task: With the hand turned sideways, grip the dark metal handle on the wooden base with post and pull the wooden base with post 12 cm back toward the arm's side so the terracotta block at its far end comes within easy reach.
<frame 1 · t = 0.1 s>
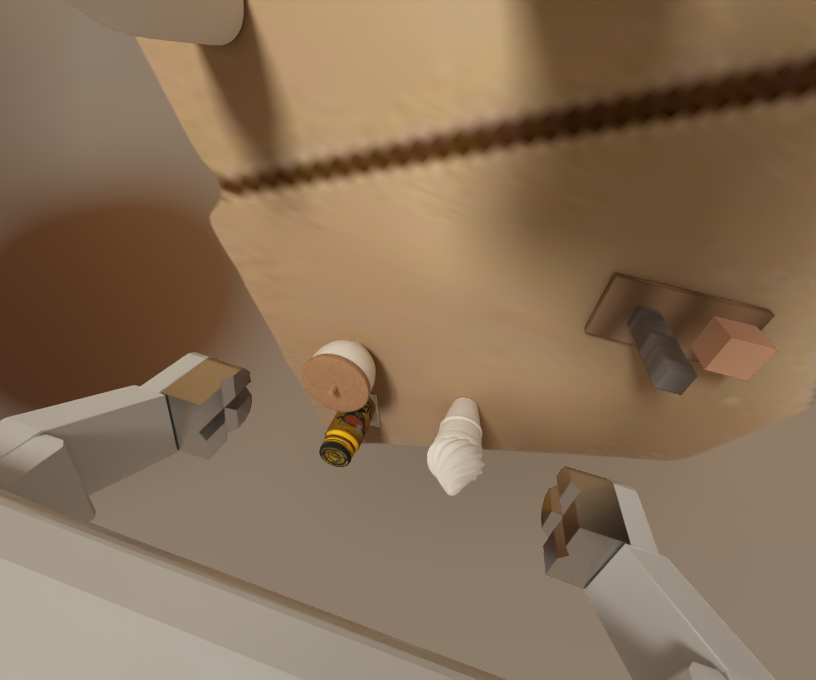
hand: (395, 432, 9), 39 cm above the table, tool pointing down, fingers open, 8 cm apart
wooden base with post: (689, 351, 40), point 7 cm above the table, slide at 0.0 cm, touching terracotta block
lidded jar: (353, 354, 62), on the table
condiment: (360, 406, 69), on the table
terracotta block: (721, 336, 43), point 1 cm above the table, touching wooden base with post
soft serve ice cream cone: (465, 405, 62), on the table
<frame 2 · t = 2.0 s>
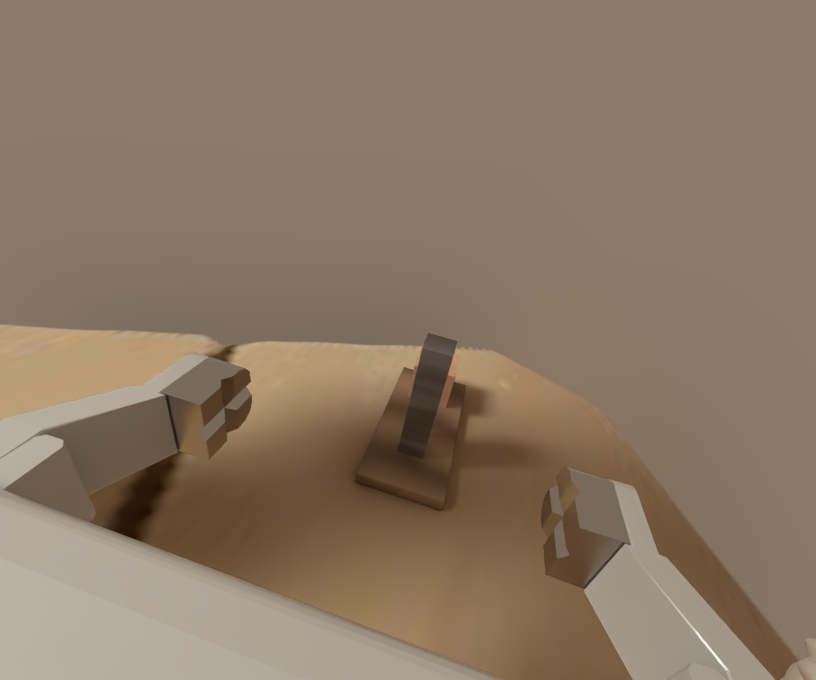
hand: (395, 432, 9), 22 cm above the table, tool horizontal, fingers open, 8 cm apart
wooden base with post: (431, 382, 36), point 7 cm above the table, slide at 0.0 cm, touching terracotta block
terracotta block: (430, 390, 44), point 1 cm above the table, touching wooden base with post
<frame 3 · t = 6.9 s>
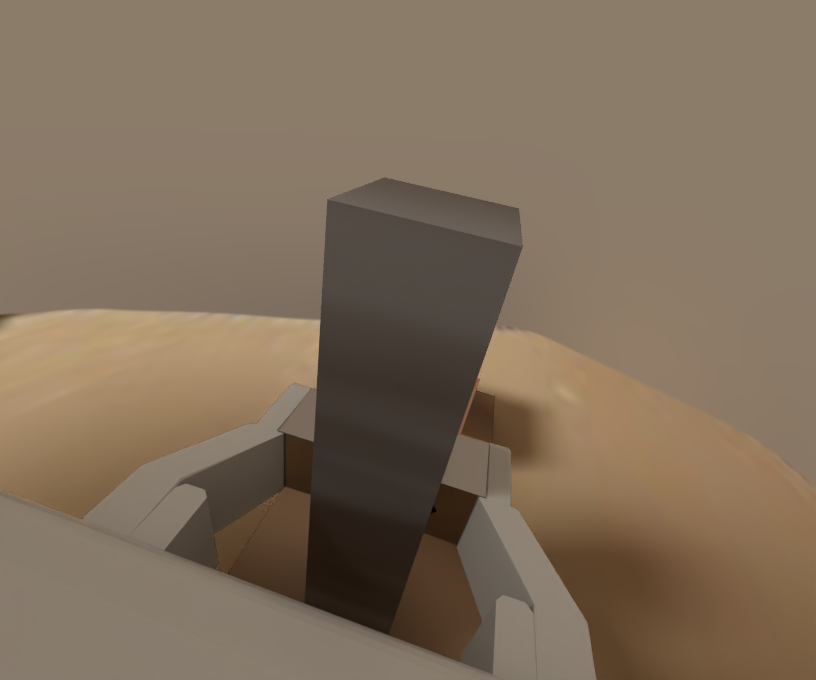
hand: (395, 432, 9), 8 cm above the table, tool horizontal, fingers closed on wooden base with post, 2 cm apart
wooden base with post: (412, 394, 12), point 7 cm above the table, slide at 0.0 cm, touching gripper, terracotta block
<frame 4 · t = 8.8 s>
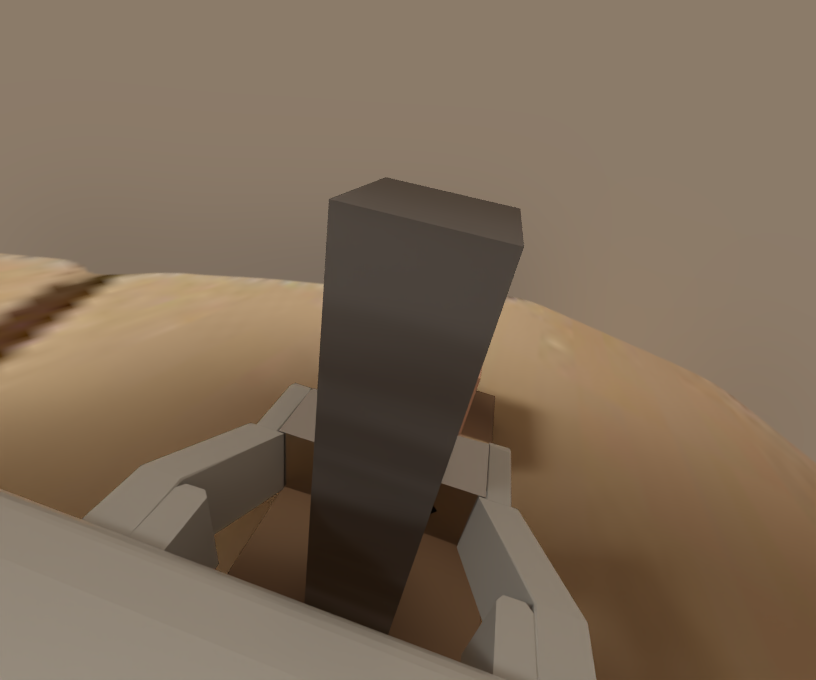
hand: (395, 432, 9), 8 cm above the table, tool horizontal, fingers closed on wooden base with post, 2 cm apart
wooden base with post: (413, 394, 12), point 7 cm above the table, slide at 6.9 cm, touching gripper, terracotta block
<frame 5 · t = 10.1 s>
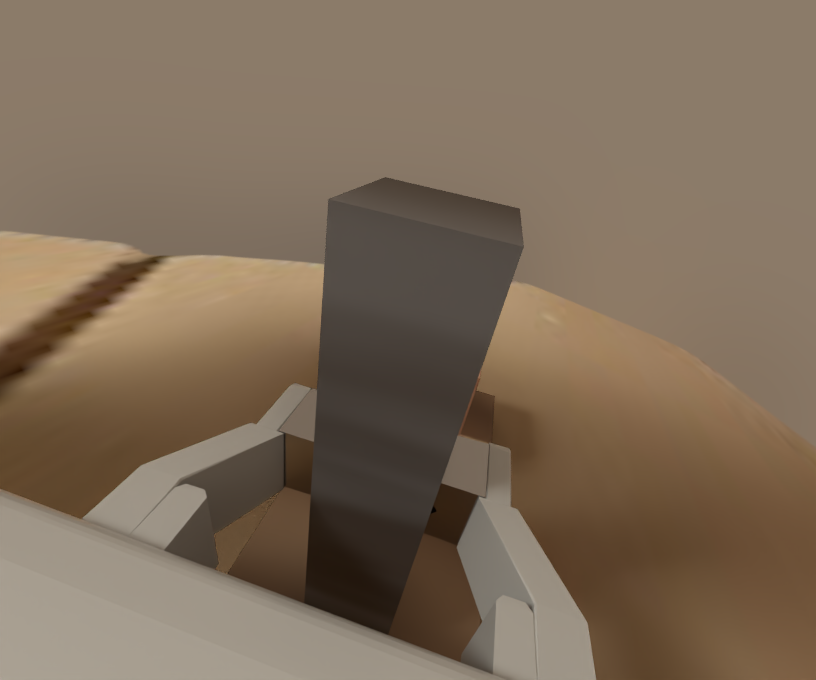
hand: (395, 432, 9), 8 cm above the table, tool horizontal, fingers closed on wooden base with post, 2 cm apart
wooden base with post: (412, 394, 12), point 7 cm above the table, slide at 11.9 cm, touching gripper, terracotta block
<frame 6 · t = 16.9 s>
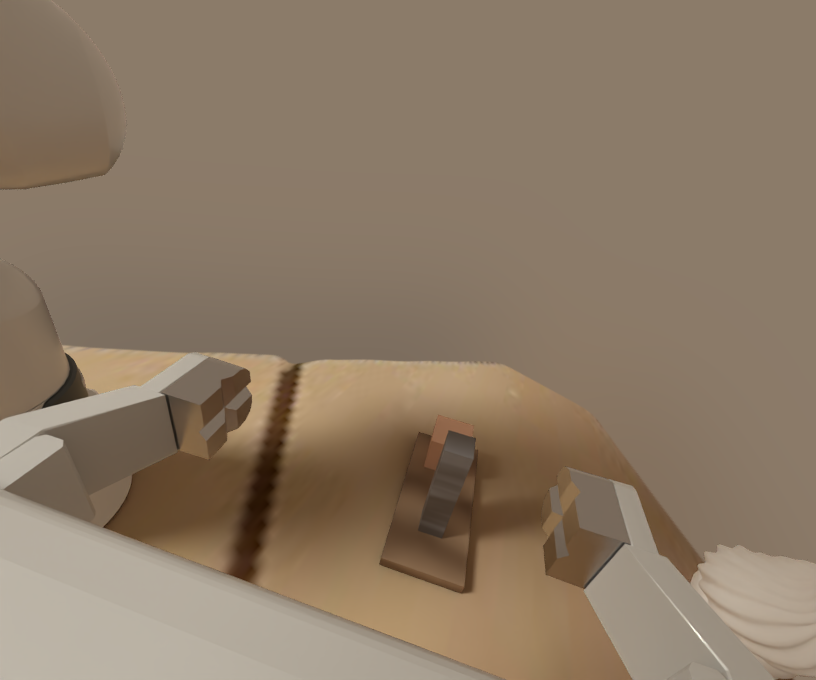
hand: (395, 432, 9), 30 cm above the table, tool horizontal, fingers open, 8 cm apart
wooden base with post: (448, 463, 39), point 7 cm above the table, slide at 12.0 cm, touching terracotta block
terracotta block: (444, 458, 46), point 1 cm above the table, touching wooden base with post
soft serve ice cream cone: (678, 660, 33), on the table
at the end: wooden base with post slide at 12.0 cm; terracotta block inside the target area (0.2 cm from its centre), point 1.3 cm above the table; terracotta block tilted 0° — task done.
